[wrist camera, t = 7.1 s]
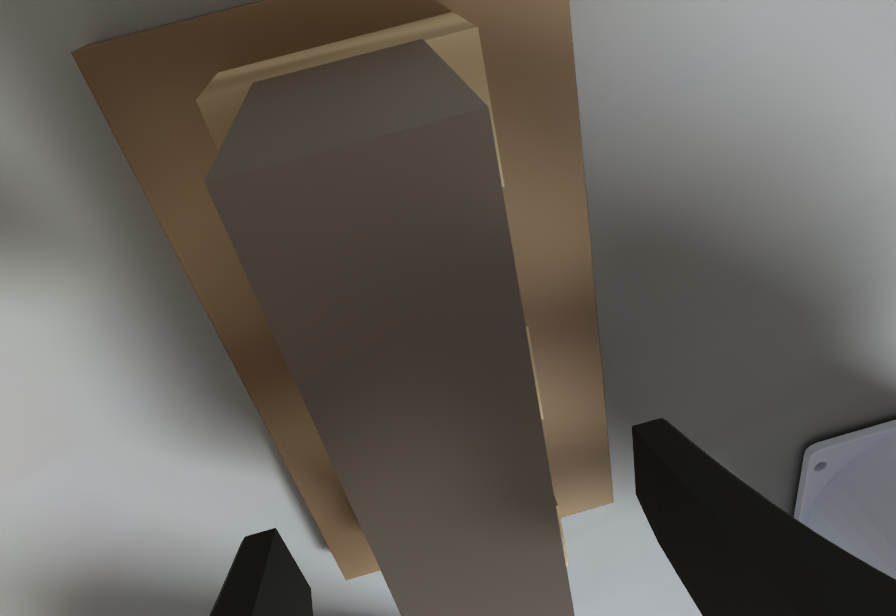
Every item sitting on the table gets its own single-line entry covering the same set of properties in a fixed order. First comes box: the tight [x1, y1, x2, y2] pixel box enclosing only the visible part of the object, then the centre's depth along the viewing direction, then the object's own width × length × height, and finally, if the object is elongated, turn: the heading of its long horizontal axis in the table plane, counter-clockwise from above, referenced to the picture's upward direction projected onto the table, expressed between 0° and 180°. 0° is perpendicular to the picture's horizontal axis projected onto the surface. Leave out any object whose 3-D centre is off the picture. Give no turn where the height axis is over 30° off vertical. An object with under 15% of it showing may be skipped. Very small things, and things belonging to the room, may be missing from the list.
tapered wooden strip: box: [204, 39, 574, 616], centre depth 13 cm, size 16×3×5 cm, turn 12°
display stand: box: [71, 0, 614, 580], centre depth 16 cm, size 18×10×4 cm, turn 12°
